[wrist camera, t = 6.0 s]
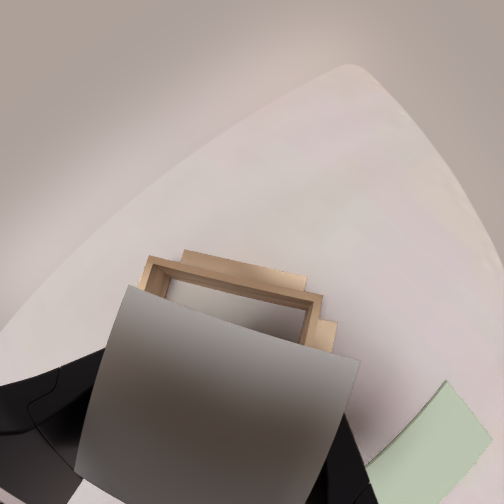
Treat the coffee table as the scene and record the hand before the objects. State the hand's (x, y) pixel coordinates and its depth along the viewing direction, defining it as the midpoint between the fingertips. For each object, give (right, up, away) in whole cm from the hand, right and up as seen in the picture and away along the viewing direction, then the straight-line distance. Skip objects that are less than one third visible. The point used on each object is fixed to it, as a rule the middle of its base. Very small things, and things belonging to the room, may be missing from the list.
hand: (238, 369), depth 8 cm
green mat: (+14, -15, +8) cm, 22 cm away
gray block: (0, -3, +6) cm, 7 cm away
